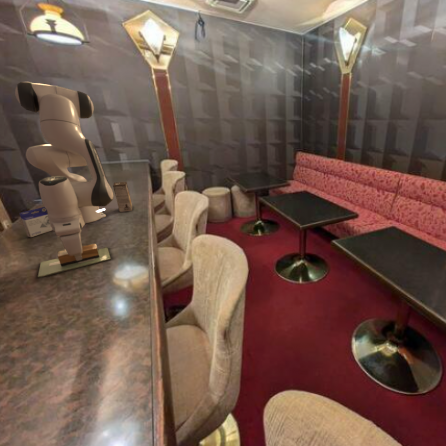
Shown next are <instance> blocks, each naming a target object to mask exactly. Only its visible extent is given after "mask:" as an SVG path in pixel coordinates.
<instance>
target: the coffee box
mask: <svg viewBox="0 0 446 446" xmlns="http://www.w3.org/2000/svg"><path fill="white" fill-rule="evenodd" d="M112 187H113V192H114V196H115V200H116V203H117V207H118V211H119V213H124V212H131V211H133V204H132V200H131V196H130V195H131V194H130V191H129V187H128V182H127V181H119V182H113V185H112Z"/></svg>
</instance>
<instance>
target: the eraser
mask: <svg viewBox="0 0 446 446" xmlns="http://www.w3.org/2000/svg"><path fill="white" fill-rule="evenodd" d="M98 249H99V248H98V246H97V243H92V244H87V245H82V253H81V255H82V260H78V261H77V260H76V259H75V256H74V255H73V256H69V255H68V253H67V251H66V250H65V249H63V250H59V251H57V258H58V259H59V261H60V264H61V266H65V265H69V264H73V263H77V262H81V261H85V260H90V259H94V258H98V257H99V253H98Z"/></svg>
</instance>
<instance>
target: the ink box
mask: <svg viewBox="0 0 446 446" xmlns="http://www.w3.org/2000/svg"><path fill="white" fill-rule="evenodd" d="M18 214H19V217H20V220H21V223H22V225H23V228H24V231H25V233H26V235H27V237H28V238H35V237H36V236H39V235H42V234H47V233H49V232H51V231H53V230H52V227H51V224H50V222H49V219H48V211H47V209H46V208H45V207H44V206H42V207H38V208H33V209H30V210H25V211H21V212H18Z"/></svg>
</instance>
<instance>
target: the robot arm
mask: <svg viewBox="0 0 446 446" xmlns="http://www.w3.org/2000/svg"><path fill="white" fill-rule="evenodd" d="M14 94H15V98H16V100H17V102H18V103H19V105H20V106H21V107H22V108H23V109H24V110H26V111H28V112H32V113H37V114H38V115H39V116H38V117H39V126H40V130H41V135H42V137H43V139H44V140H45V141H46V142H47V143H48V144H38V145H33V146H29V147H28V148H27V149H26V152H25V158H26V160H27V162H28V163H29V164H30V165H31V166H33V167H34V168H36V169H39V170H41V171H43V172H45V173H46V174H48V175H49V176H47V177H44V178H42V179H40V180H39V181H38V190H39V195H40V199H41V202H42V206H43V207H45V208H46V209H47V211H48V219H49V222H50V224H51V227H52V231H53V232H54V234H55V236H56V237H58V238H59V239H60V242H61V244H62V246H63V247H64V250H66V251H67V253H68V255H69V256H73V255H74V256H75V259H76V260H77V261H78V260H82V255H81V253H82V246H83V245H82V238H81V237H82V236H81V234H82V230H83V228H84V226H85V224H88V223H92V222H96V221H99V220H100V219H104V218H105V217H107V215H106V214H105V213H103V211H106V208H105V207H106V206H108V205H109V204H111V202H112V201H113V200H114V190H113V189H112V187H111V184H110V183H109V181H108V177H107V175H106V172H105V170H104V166H103V164H102V161H101V158H100V156H99V153H98V150H97V148H96V146H95V145H94V143H93V142H92V140H90V139H88V138H86V137H85V135H84V134H83V132H82V128H81V127H82V126H81V122H80V119H90V118H91V117H93V114H94V111H95V107H94V103H93V100H92V99H91V97H90V96H89V95H88V94H87V93H84V92H82V91H80V90H74V89H69V88H66V87H63V86H58V85H50V84H44V83H34V82H32V81H19V82H18V83H17V84H16V87H15V90H14ZM79 118H80V119H79ZM86 166H87V168H88V171H89V174H90V176H91V177H90V178H91V180H89V181H88V180H87V179H86V178H85V177H84V176H83V175H81V174H77V173H73V172H70V171H69V170H68V168H76V167H86ZM100 207H104V208H100Z"/></svg>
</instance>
